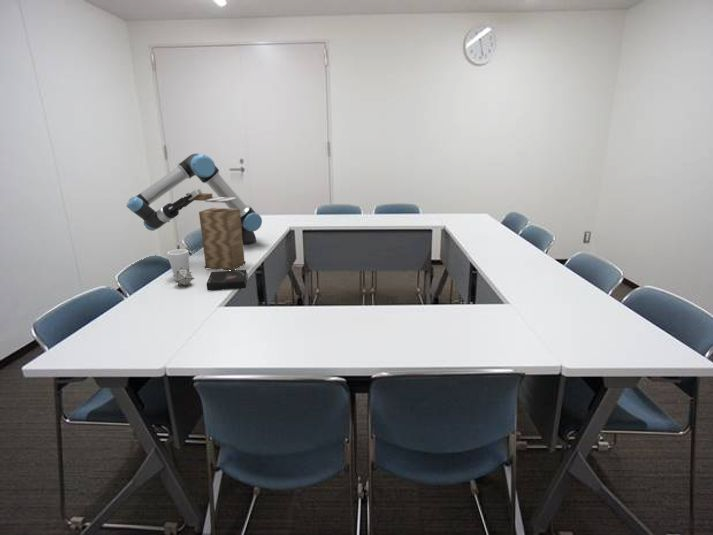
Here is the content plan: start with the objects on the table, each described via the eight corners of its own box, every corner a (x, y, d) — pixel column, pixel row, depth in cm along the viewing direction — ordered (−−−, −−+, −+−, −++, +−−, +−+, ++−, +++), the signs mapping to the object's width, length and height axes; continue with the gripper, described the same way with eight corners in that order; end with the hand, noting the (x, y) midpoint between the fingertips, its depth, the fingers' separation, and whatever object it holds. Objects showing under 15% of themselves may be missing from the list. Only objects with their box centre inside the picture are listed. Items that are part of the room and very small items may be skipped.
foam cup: (184, 281, 193) (180, 255, 189) (167, 279, 195) (163, 254, 191) (195, 274, 202) (192, 249, 198) (179, 273, 204) (175, 248, 199)
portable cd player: (246, 289, 185) (245, 280, 183) (207, 291, 181) (206, 283, 180) (247, 277, 200) (247, 269, 199) (212, 279, 197) (211, 271, 195)
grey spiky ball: (183, 291, 190) (177, 272, 192) (199, 285, 190) (193, 265, 192) (172, 289, 181) (167, 269, 183) (189, 282, 181) (183, 262, 183)
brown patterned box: (204, 268, 211) (197, 212, 201) (218, 261, 223) (212, 207, 213) (233, 270, 207) (227, 213, 198) (245, 263, 219) (240, 209, 209)
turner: (182, 201, 203) (181, 194, 202) (194, 198, 212) (193, 191, 211) (227, 202, 197) (226, 196, 196) (237, 199, 206) (236, 193, 205)
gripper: (181, 215, 221) (212, 195, 212) (161, 222, 206) (193, 200, 197) (174, 203, 219) (204, 182, 211) (153, 209, 204) (185, 187, 196)
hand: (199, 191), depth 204 cm, fingers closed on turner, 3 cm apart
